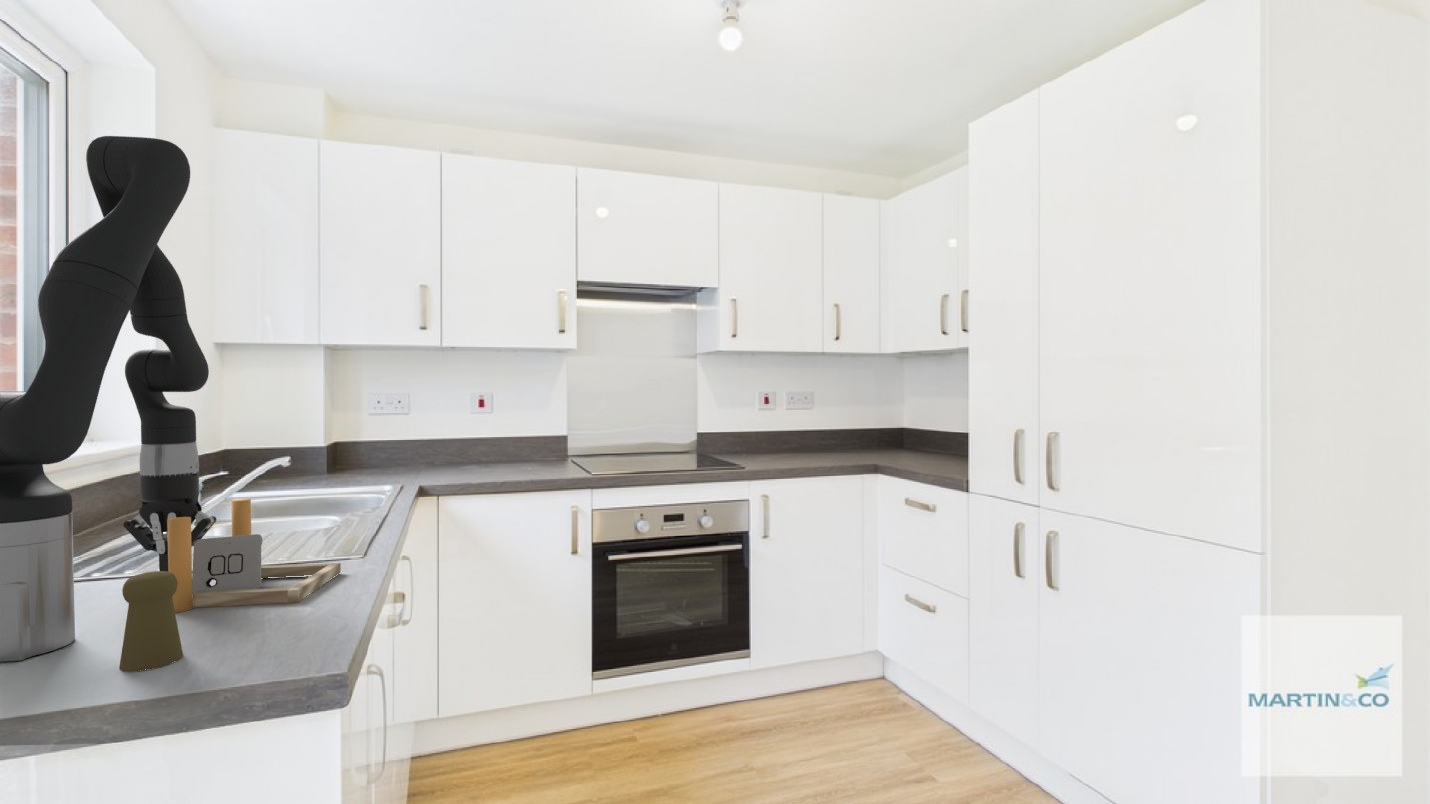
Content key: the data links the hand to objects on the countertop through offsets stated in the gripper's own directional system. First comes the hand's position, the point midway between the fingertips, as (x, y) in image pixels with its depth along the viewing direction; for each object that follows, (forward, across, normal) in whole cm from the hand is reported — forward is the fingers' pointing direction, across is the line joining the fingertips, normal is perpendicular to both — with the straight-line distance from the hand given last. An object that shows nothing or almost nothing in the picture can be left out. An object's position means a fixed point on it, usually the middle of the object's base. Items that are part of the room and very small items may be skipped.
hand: (171, 574), depth 109 cm
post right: (+3, +7, +8) cm, 11 cm away
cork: (+3, +15, -31) cm, 34 cm away
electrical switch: (+3, +8, 0) cm, 9 cm away
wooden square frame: (+3, +15, -1) cm, 15 cm away
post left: (+3, +6, -9) cm, 12 cm away
